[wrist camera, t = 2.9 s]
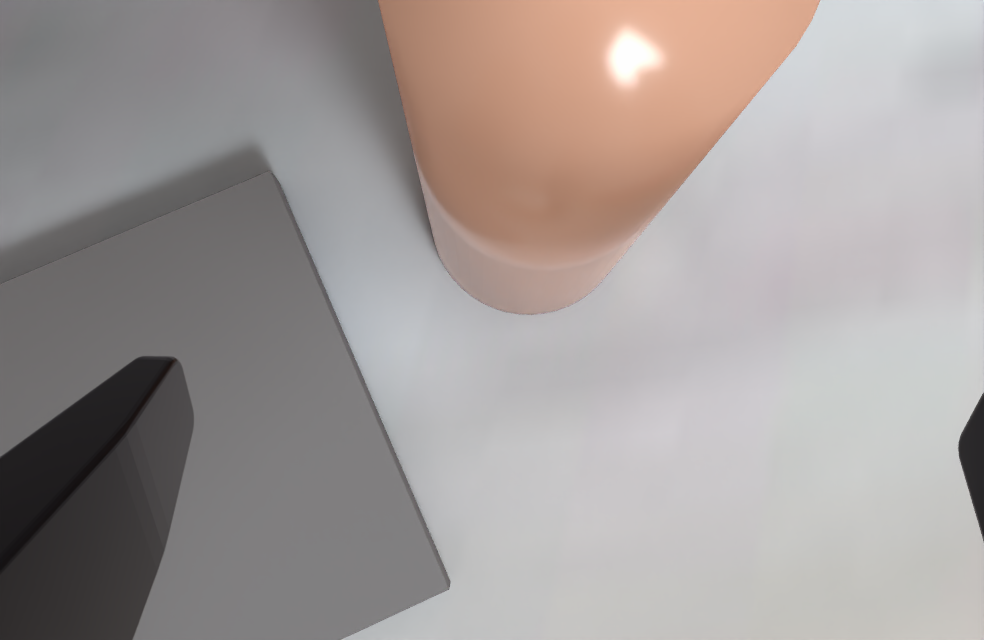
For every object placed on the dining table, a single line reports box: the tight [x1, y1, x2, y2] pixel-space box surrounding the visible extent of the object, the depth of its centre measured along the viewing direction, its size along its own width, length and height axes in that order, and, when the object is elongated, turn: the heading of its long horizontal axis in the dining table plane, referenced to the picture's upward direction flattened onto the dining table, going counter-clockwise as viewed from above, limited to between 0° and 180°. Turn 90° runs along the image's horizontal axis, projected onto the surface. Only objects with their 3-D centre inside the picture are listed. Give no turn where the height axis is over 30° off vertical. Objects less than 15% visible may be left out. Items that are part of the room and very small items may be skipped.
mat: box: [0, 171, 450, 640], centre depth 20 cm, size 11×11×1 cm
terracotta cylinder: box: [378, 0, 820, 315], centre depth 15 cm, size 5×5×13 cm
